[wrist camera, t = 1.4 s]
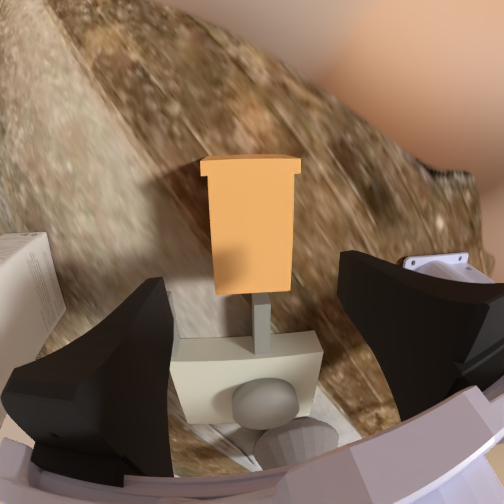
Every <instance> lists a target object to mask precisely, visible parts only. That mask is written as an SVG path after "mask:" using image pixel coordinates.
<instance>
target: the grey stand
mask: <svg viewBox="0 0 504 504" xmlns="http://www.w3.org/2000/svg"><path fill="white" fill-rule="evenodd" d="M167 296H168V300H169V303H170V307H171V310H172V314H173V317H174V341H173V348H172V356H171V363H170V372H171V376H172V379H173V382H174V385H175V388H176V391H177V394H178V397H179V400H180V403H181V406H182V409H183V412H184V415H185V417H186V420H187V423H188V424H231V423H237V424H239V425H240V426H242V427H245V428H248V429H254V430H266V429H272V428H277V427H280V426H282V425H285V424H287V423H288V422H290V421H291V420H293V419H294V418H296V417H303V416H309V415H310V411H311V407H312V403H313V398H314V394H315V390H316V386H317V381H318V376H319V372H320V367H321V362H322V357H323V352H324V351H323V349H322V347H321V344H320V342H319V340H318V337H317V335H316V333H315V330H312V331H303V332H294V333H283V334H272V335H270V313H271V303H270V299H269V296H268V292H261V293H251V301H252V336H244V337H224V338H193V339H180V336H179V331H178V326H177V321H176V316H175V311H174V306H173V300H172V295H171V291H167Z"/></svg>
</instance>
